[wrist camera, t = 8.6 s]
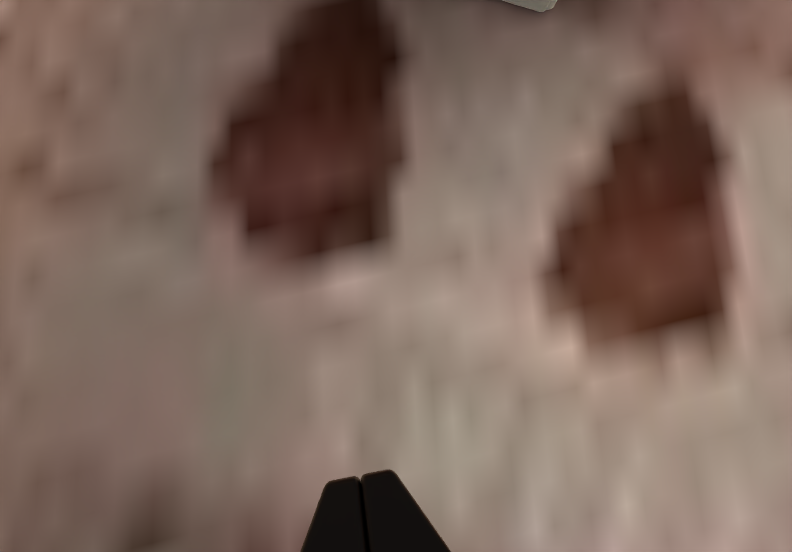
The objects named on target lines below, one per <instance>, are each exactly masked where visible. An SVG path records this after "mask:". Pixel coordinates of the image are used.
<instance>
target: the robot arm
mask: <svg viewBox="0 0 792 552" xmlns="http://www.w3.org/2000/svg"><path fill="white" fill-rule="evenodd" d="M301 552H451V551H450V550H449V548H448V547H447V545H446V544H445V542H444V541H443V540H442V538H441V537H440V535H439V534H438V533H437V531H436V530H435V528H434V527H433V525H432V524H431V523H430V521H429V520H428V518H427V517H426V515H425V514H424V513H423V511H422V510H421V508H420V507H419V505H418V504H417V503H416V501H415V500H414V498H413V497H412V496H411V494H410V493H409V491H408V490H407V488H406V487H405V486H404V484H403V483H402V481H401V480H400V478H399V477H398V476H397V474H396V473H395V472H394V471H392V470H382V471H377V472H372V473H367V474H364V475H363V476H362V477H361V481H360V479H359V478H358V477H355V476H352V477H347V478H342V479H337V480H332V481H329V482H328V483H327V484H326V485H325V487H324V489H323V492H322V494H321V497H320V500H319V502H318V505H317V508H316V511H315V513H314V516H313V519H312V522H311V524H310V527H309V530H308V532H307V535H306V538H305V541H304V543H303V546H302V549H301Z"/></svg>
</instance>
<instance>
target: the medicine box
mask: <svg viewBox="0 0 792 552" xmlns="http://www.w3.org/2000/svg"><path fill="white" fill-rule="evenodd" d="M502 1H505V2H508V3H511V4H515V5H518V6H521V7H525V8H528V9H532V10H535V11H538V12H544V11H545V10H550V9H552V8H553V7H554V5H555V4H556V2H557V0H502Z"/></svg>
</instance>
